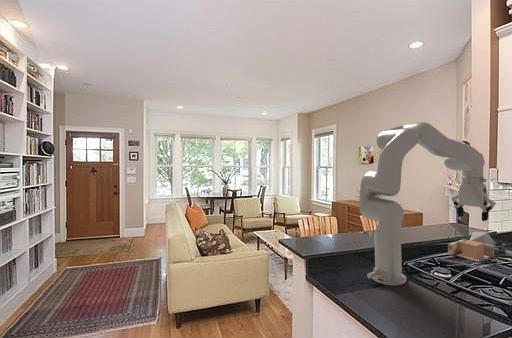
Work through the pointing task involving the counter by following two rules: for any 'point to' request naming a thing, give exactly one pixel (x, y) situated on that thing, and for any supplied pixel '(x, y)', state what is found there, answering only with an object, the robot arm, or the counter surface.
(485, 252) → the tan box
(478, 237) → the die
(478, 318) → the counter surface
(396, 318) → the counter surface
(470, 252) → the cube
